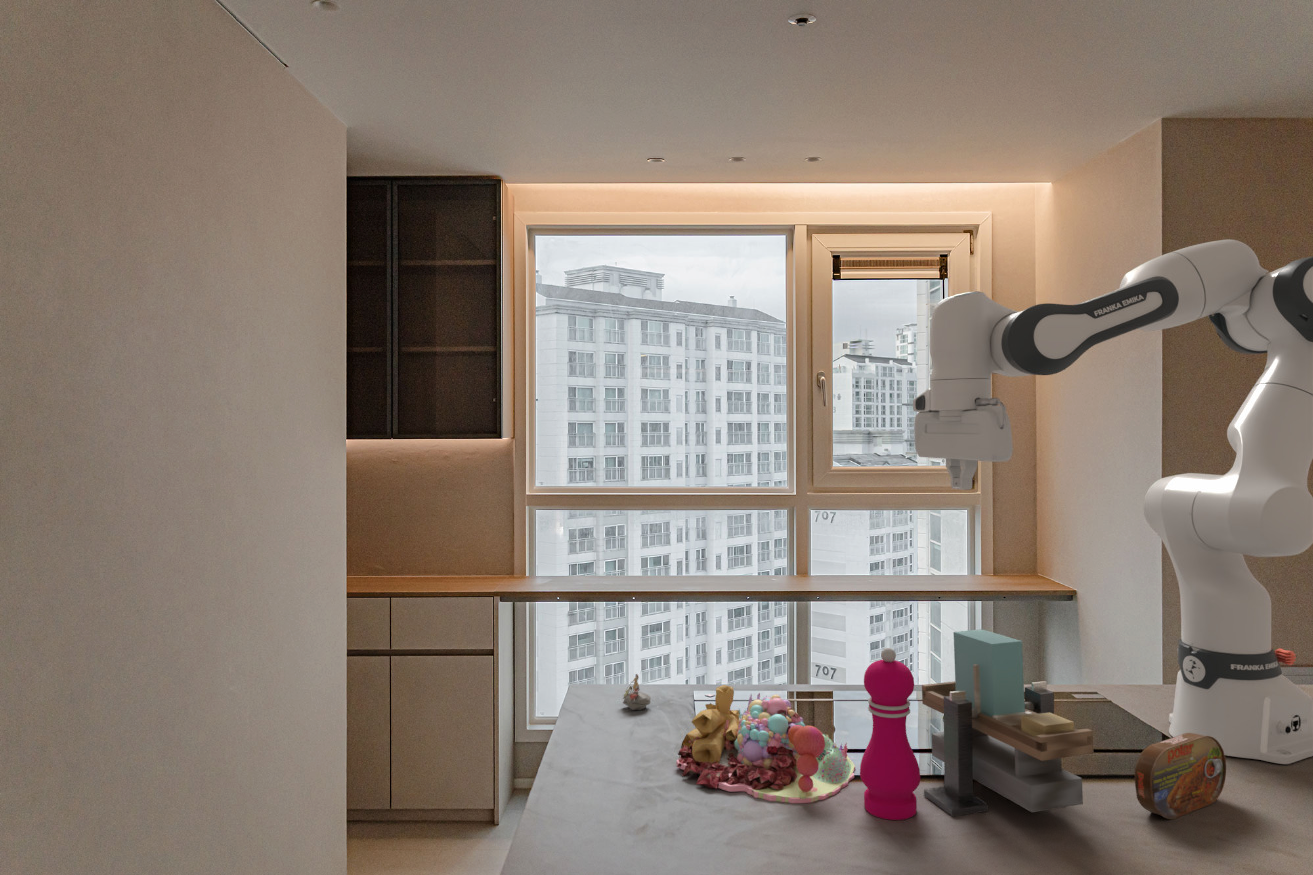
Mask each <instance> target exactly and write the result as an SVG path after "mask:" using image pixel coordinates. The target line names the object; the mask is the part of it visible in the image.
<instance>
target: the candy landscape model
mask: <svg viewBox="0 0 1313 875" xmlns="http://www.w3.org/2000/svg"><path fill="white" fill-rule="evenodd" d="M734 696H735V691H734V688H733V687H732V686H730V685H727V684H723V685H721V686H718V687H716V689H715V700H714V702H715V703H714V704H713V703H711V702H709V703H706V704H705V708H706V709H703V710H701V711H700V712H698V713H697V714H696V715H695V716H694V717H693V719H692V721H691V723H692V724H693V726H694V727H695V728H693V729H692V730H690V731H689V732H688V733H686V735H685V736H684V739H683V740H682V741H681V745H680V746H681V747H680V749H679V751H678V753H677V755H678V756H679V757H678V759H676V768H679V769H680V770H683V772H682V775H681V778H684V777H688V776H691V775H694V774H698V775H699V777H698V779H697V781H696V782H695V785H697V786H702V787H706V788H712V789H721V790H723V791H727V792H732V793H733V792H745V793H747V794H748V795H750V796H753V797H754V798H755V799H763V800H766V801H769V802H783V803H790V804H807V803H814V802H816V801H821V800H826V799H827V798H829V797H831V796H836V794H838V793H839V792H840V791H841V789H842V788H846V787H847V786H848V785H849V782H851V781H852V780H853V779H855V770H856V764H854V762H853V761H852V760H851V758H849V756H848V752H847V751H848V750H849V749H848V746H847V744H848V743H847V741H846V742H845V743H844V745H843V744H842V743H841V744H840V745H839V746H837V744H836V743H835V742H833V739H831V738H830V737H829V734H825V733H823V732H822V731H821V730H820V729H819V728H817V727H816V726H813V725H806V724H805V723H804V718H803V717H802V716H800V715H799V714H798V712H796V711H795V710H794V709H792V703H791V701H789V699H782V698H781V696H780V695H778V694H774V695H772V696H771V697H770V696H767V695H766V696H765V697H763V699H762V700H761V693H760V692H759V693H758V694H757V696H756V699H754V700H753V697H752V696H753V695H752V693H751V694H750V696H749V698H748V704H747V707H746V708H745V709H744V710H743V712H741V710H740V708H738V709H737V710H736V709H733V710H732V709H731V706H732V705H733V702H734Z"/></svg>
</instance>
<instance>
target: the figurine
mask: <svg viewBox="0 0 1313 875" xmlns="http://www.w3.org/2000/svg"><path fill="white" fill-rule="evenodd" d="M634 677H635V678H633V680H632V681H630V683H629V685H628V686H627V687H626V689H625V690H624V694H623V695H622V696H623V697H622V700H623V701H622V704H623V705H625V706H627V707H628V708H629V709H630V710H632V711H637V710H643V709H645V708H647V706H648V705H650V704H651V699H652V697H651V695H649V694H647V693H644V692H642V691H641V690H640V686H639V682H638V680H639V679H640V677H639V675H638V674H637V673H635V676H634ZM632 683H633V685H632V686H631V684H632Z"/></svg>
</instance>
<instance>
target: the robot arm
mask: <svg viewBox="0 0 1313 875" xmlns="http://www.w3.org/2000/svg"><path fill="white" fill-rule="evenodd" d="M1204 317H1208V319H1209V321H1210V323H1212V325H1213V326H1214V329H1215V331H1216V333H1217V335H1218V337H1219V338H1220V339H1221V341H1222V343H1224V344H1225V345H1226V347H1228V348H1229V349H1231V350H1232V351H1234V352H1237V353H1240V354H1244V355H1261V354H1267V359H1266V364H1265V367H1264V369H1263V370H1264V371H1263V372H1262V374H1261V375H1260V376H1259V377H1258V379H1257V380H1256V382H1255V384H1254V385H1253V387H1252V388H1251V390H1250V391H1249V393H1248V394H1247V396H1246V398H1245V400H1244V401H1243V403H1242V404H1241V406H1240V408H1239V409H1238V410H1237V412H1236V414H1235V415H1234V417H1233V418H1232V420H1231V422H1230V423H1229V425H1228V427H1227V430H1226V436H1227V437H1226V438H1227V440H1228V443H1229V444H1230V447H1231V448H1232V450H1233V451H1234V452H1235V453H1236V455H1235V460H1234V462H1233V465H1232V467H1231V468H1230V469H1229V470H1228V471H1227V472H1226V473H1225V474H1213V473H1212V474H1210V473H1200V472H1199V473H1196V472H1188V473H1181V474H1175V475H1170V476H1165V477H1162V478H1159V479H1158V480H1156V481H1155V482H1153V483H1152V484H1151V486H1150V487H1149V488H1148V490H1147V492H1146V494H1145V495H1144V500H1143V515H1144V518H1145V520H1146V522H1147V525H1148V526H1149V527H1150V528H1151V529H1152V530H1153V532H1155V533H1156V534H1157V536H1158V537H1159V538H1160V539H1161V541H1162V543H1163V545H1164V546H1165V549H1166V551H1167V553H1168V555H1169V557H1170V560H1171V563H1172V566H1173V569H1174V572H1175V575H1176V580H1177V583H1178V587H1179V588H1178V589H1179V597H1180V622H1181V623H1180V624H1181V626H1180V628H1181V629H1180V630H1181V631H1180V634H1181V637H1180V638H1179V640H1178V641H1177V643H1178V644H1177V646H1178V647H1177V650H1176V653H1177V663H1178V665H1179V670H1178V672H1177V676H1176V684H1175V691H1174V692H1175V693H1174V702H1173V711H1172V712H1170V713H1169V715H1168V722H1169V723H1170V726H1169V728H1168V733H1169V734H1170V735H1171V737H1172V738H1173V737H1176V736H1179V735H1182V734H1185V733H1195V734H1199V735H1203V736H1211V737H1213V738H1215V739H1216V740H1217V741H1218V742H1219V743H1220V745H1221V747H1222V749H1223V751H1224V755H1225V756H1228V757H1233V758H1234V757H1235V758H1241V759H1243V758H1244V759H1253V760H1261V761H1264V762H1270V763H1274V764H1280V765H1290V764H1292V763H1296V762H1298V761H1302V760H1304V759H1305V760H1306V759H1307V758H1310V757H1313V697H1311V695H1309V694H1308V693H1306V692H1305V691H1304V690H1302V689H1301V688H1300V687H1298V686H1297V684H1295V683H1294V682H1292V681H1291V680H1290V679H1288V678H1287V677H1286V676H1284V675H1285V674H1283V670H1282V668H1281V665H1280V663H1283V664H1286V665H1289V666H1293V665H1294V664H1295V662H1296V658H1297V657H1296V653H1295V652H1294V651H1292V650H1285V649H1283V648H1282V647H1281V648H1277V649H1274V648H1272V599H1271V595H1270V594H1269V591H1268V589H1266V587H1265V586H1264V585H1262V583H1260V582H1259V581H1258V579H1256V578H1255V577H1254V575H1253V574H1252V572H1251V570H1250V568H1249V567H1248V565H1247V563H1246V560H1245V557H1244V556H1245V555H1246V556H1251V557H1257V558H1270V557H1271V558H1272V557H1273V558H1274V557H1290V556H1297V555H1299V554H1302V553H1304V552H1305V551H1306V550H1308V549H1309V548H1311V546H1312V545H1313V495H1312V494H1311V492H1310V491H1309V488H1308V476H1309V470H1310V467H1311V464H1312V463H1313V462H1312V461H1313V256H1308V257H1303V258H1299V259H1295V260H1293V261H1291V262H1289V263H1288V264H1286V265H1285V266H1282V267H1280V268H1277V269H1275V270H1273V271H1271V272H1269V270H1268V269H1265V268H1263V267H1262V266H1261V265H1260V260H1259V259H1258V256H1257V255H1256V253H1255V251H1254V250H1253V249H1252V248H1251V247H1250V246H1249V245H1248V244H1246V243H1244V242H1243V241H1239V240H1237V239H1230V238H1229V239H1221V240H1214V241H1213V240H1212V241H1208V242H1202V243H1198V244H1195V245H1190V246H1186V247H1184V248H1180V249H1177V250H1174V251H1171V252H1168V253H1165V254H1162V255H1159V256H1157V257H1154V258H1152V259H1150V260H1148V261H1146V262H1144V263H1142V264H1140V265H1138V266H1137V267H1135V268H1133V269H1132V270H1130V271H1128V272H1127V273H1125V275H1124V276H1123V278H1122V280H1121V282H1120V284H1119V288H1117V289H1116V290H1112V291H1110V292H1107V293H1105V294H1101V295H1099V296H1097V297H1094V298H1092V299H1088V300H1086V301H1083V302H1080V303H1076V304H1062V303H1047V302H1045V303H1038V304H1034V305H1032V306H1030V307H1027V308H1025V309H1024V310H1022V311H1021V310H1020V311H1017V310H1015V309H1011V308H1008V307H1006V306H1004V305H1002V304H1000V303H997V302H996V301H994V300H993V299H992V298H990V297H988V296H987V295H986V293H985V292H983V291H969V292H968V291H966V292H962V293H958V294H955V295H952V296H948V297H945V298H943V299H942V300H940V301H938V302H937V303H936V305H935V306H934V307H933V310H932V314H931V319H930V320H931V321H930V328H929V329H930V330H929V331H930V333H929V354H930V358H931V361H932V370H931V373H930V374H931V375H930V380H929V382H930V383H929V385H930V387H929V388H927V389H925V391H924V392H922V393H921V394H919V395H918V396H916V397H915V398H913V401H912V410H913V411H914V412H916V415H915V417H914V423H913V425H914V426H913V428H914V430H913V431H914V448H915V451H916V454H917V455H918V457H920V458H931V459H932V458H933V459H943V460H944V459H945V468H946V469H947V472H948V474H949V476H950V487H951V489H953V490H954V489H955V490H962V491H967V490H970V491H971V490H972V488H973V477H975V474H976V471H977V469H978V462H987V463H988V462H992V463H995V462H996V463H997V462H1009V461H1010V459H1011V458H1012V455H1013V453H1014V449H1013V448H1014V447H1013V436H1012V435H1013V434H1012V427H1011V420H1010V417H1009V414H1008V412H1007V408H1006V405H1004V403H1003V402H1002V401H1001V399H1000V398H999V397H992V374H997V375H1001V376H1004V377H1008V378H1009V377H1012V378H1013V377H1015V378H1016V377H1026V376H1052V375H1055V374H1058V373H1060V372H1062V371H1065V370H1066V369H1068V368H1069V367H1070V366H1072V365H1073V364H1074V363H1075V362H1076V361H1077V360H1078V359H1080V357H1082V355H1083V354H1084V353H1086V352H1087V351H1088V350H1089V349H1090V348H1092V347H1094V346H1095V345H1098V344H1101V343H1104V342H1106V341H1108V340H1111V339H1113V338H1117V337H1119V336H1122V335H1124V334H1127V333H1131V332H1132V331H1135V330H1140V331H1144V332H1153V331H1154V332H1155V331H1162V330H1166V329H1170V328H1175V327H1179V326H1181V325H1185V324H1188V323H1192V322H1194V321H1197V320H1200V319H1203V318H1204Z"/></svg>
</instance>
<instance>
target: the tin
mask: <svg viewBox="0 0 1313 875" xmlns="http://www.w3.org/2000/svg"><path fill="white" fill-rule="evenodd" d="M1139 754H1140V755H1139V756H1138V758H1137V761H1136V763H1135V767H1134V784H1135V786H1134V787H1135V793H1136V794H1135V795H1136V799H1137V801H1138V803H1139V804H1140V806H1141V807H1142V808H1143V809H1144V810H1146V811H1148V812H1150V813H1153V814H1155V815H1158V816H1161V817H1163V818H1164V819H1167V820H1175V819H1178V818H1180V817H1182V816H1186V815H1188V814H1190V813H1193V812H1195V811H1197V810H1199V809H1203V808H1205V807H1208V806H1210V805H1212V804H1213V803H1216V801H1217V800H1218V799H1219V797H1220V795H1221V794H1222V792H1223V789H1224V786H1225V782H1226V779H1227V778H1226V776H1227V761H1226V760H1227V759H1226V755H1224V751H1223V749H1222V747H1221V745H1220V743H1219V742H1218V741H1217V740H1216V739H1215V738H1213V737H1211V736H1203V735H1199V734H1195V733H1185V734H1182V735H1179V736H1176V737H1173V736H1172V737H1170V738H1167V739H1165V740H1161V741H1159V742H1158V741H1157V742H1155V743H1152V744H1149V745H1148V746H1146V747H1145V748H1144V749H1143V750H1142V752H1140V753H1139Z"/></svg>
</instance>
